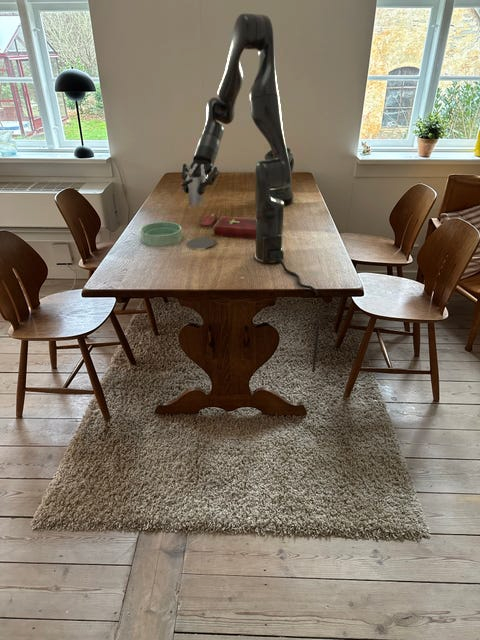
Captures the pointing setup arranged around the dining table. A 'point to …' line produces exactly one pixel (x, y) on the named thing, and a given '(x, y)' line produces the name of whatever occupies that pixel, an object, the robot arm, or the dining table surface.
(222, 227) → the hardcover book
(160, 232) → the bowl
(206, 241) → the coaster
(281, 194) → the beer stein
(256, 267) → the dining table surface
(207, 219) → the popsicle
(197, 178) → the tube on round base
